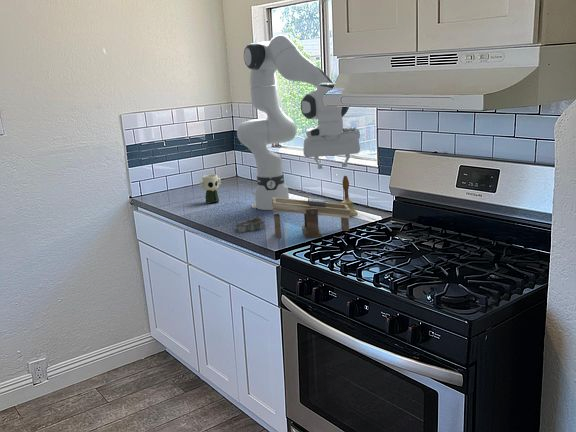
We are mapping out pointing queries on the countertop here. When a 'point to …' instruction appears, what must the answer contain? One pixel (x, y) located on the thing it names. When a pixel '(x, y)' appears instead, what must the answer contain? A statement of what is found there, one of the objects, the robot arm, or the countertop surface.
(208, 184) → the spiky head figurine
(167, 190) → the countertop surface
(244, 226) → the egg carton
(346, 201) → the hand bell
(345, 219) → the beam stand
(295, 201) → the beam
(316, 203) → the steel block
